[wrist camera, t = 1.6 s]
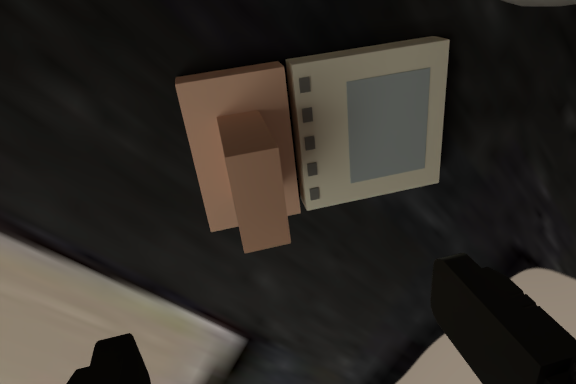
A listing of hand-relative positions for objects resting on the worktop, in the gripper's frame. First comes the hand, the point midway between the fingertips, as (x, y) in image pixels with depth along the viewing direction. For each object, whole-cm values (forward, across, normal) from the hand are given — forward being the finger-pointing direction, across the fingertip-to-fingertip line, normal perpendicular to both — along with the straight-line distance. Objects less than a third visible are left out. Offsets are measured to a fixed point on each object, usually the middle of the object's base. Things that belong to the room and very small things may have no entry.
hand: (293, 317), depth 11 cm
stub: (+13, 0, 0) cm, 13 cm away
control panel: (+13, -7, 0) cm, 15 cm away
